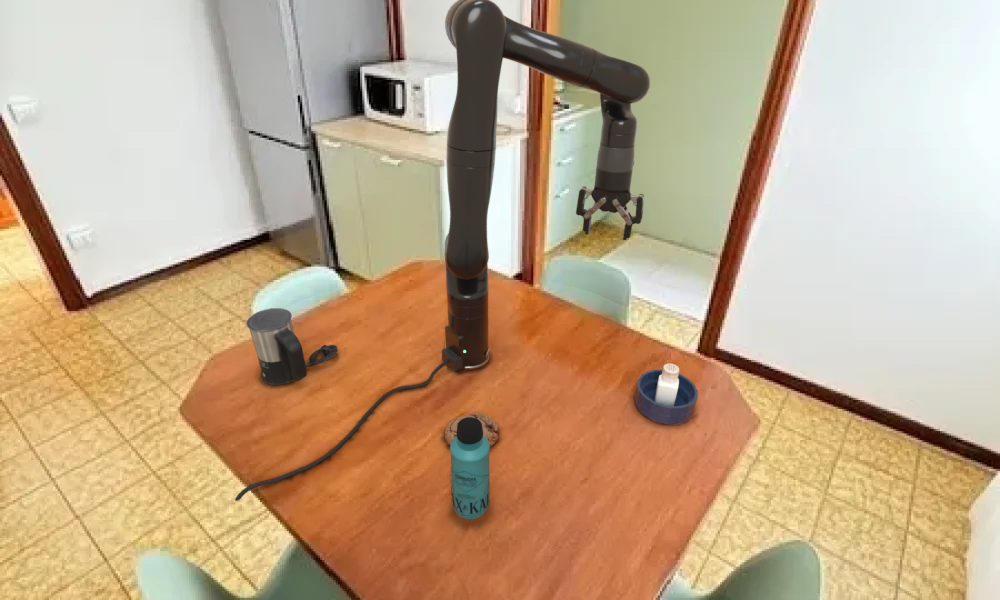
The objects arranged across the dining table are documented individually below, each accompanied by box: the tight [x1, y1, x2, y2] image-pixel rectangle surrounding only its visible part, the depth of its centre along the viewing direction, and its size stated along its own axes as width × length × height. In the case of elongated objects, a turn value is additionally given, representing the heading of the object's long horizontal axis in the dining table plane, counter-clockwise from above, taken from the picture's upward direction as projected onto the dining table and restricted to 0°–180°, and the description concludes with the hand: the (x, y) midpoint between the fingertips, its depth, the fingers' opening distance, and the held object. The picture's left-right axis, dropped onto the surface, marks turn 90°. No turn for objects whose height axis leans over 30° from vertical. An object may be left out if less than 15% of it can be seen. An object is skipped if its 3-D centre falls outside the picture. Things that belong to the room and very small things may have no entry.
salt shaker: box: [654, 363, 681, 406], centre depth 112 cm, size 4×4×10 cm
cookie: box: [444, 412, 500, 448], centre depth 106 cm, size 10×11×3 cm
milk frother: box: [245, 307, 339, 386], centre depth 122 cm, size 14×16×15 cm
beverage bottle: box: [449, 417, 491, 520], centre depth 87 cm, size 6×7×20 cm
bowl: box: [633, 369, 699, 425], centre depth 114 cm, size 12×12×5 cm
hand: (606, 236), depth 122 cm, fingers open, 8 cm apart
